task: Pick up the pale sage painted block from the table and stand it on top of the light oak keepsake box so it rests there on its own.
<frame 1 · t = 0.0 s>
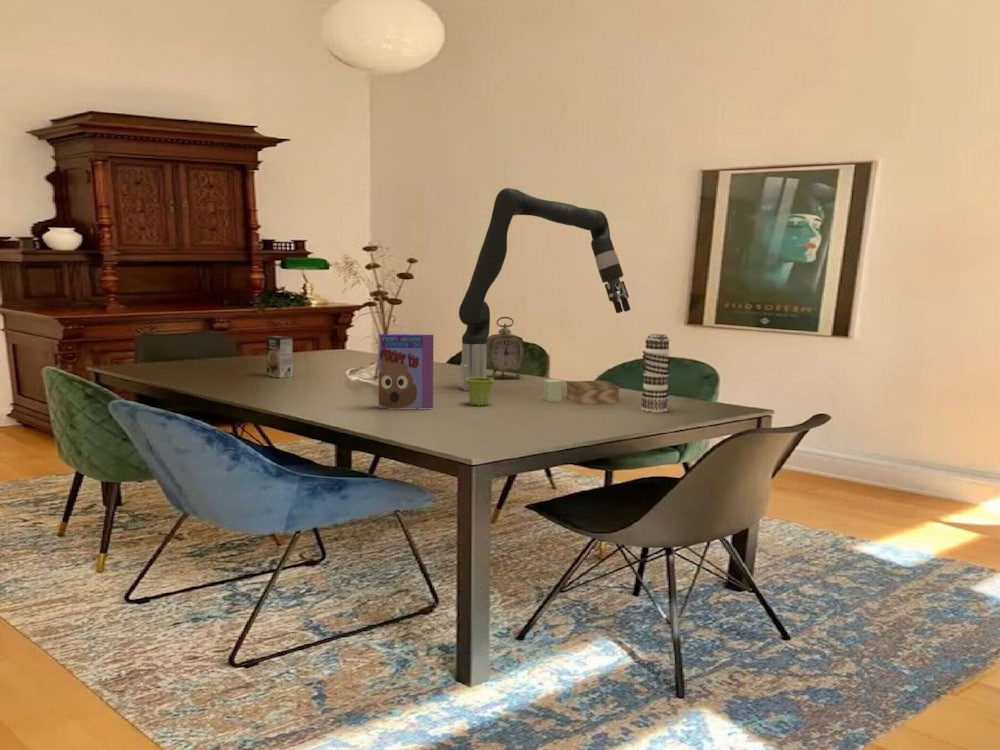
hand: (623, 311, 289), 31 cm above the table, tool tilted 20°, fingers open, 8 cm apart
sage block: (552, 400, 298), on the table
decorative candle: (654, 410, 283), on the table
tabletop clock: (503, 378, 347), on the table
plant pot: (479, 405, 287), on the table
oak box: (592, 401, 299), on the table
coffee box: (279, 377, 341), on the table
cereal box: (406, 408, 279), on the table
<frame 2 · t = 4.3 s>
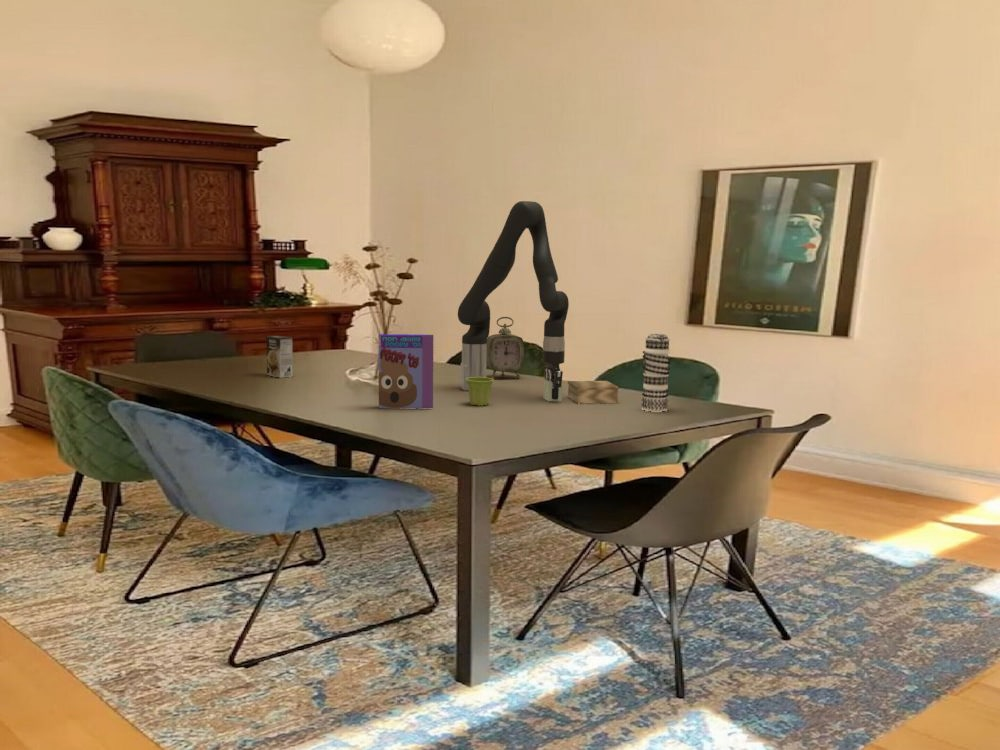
hand: (552, 397, 298), 1 cm above the table, tool pointing down, fingers closed on sage block, 5 cm apart
sage block: (552, 400, 298), on the table, touching gripper
everything else where it was.
when the fingers open (8 cm above the table, at t = 9.4 s): sage block drops 1 cm, resting on oak box.
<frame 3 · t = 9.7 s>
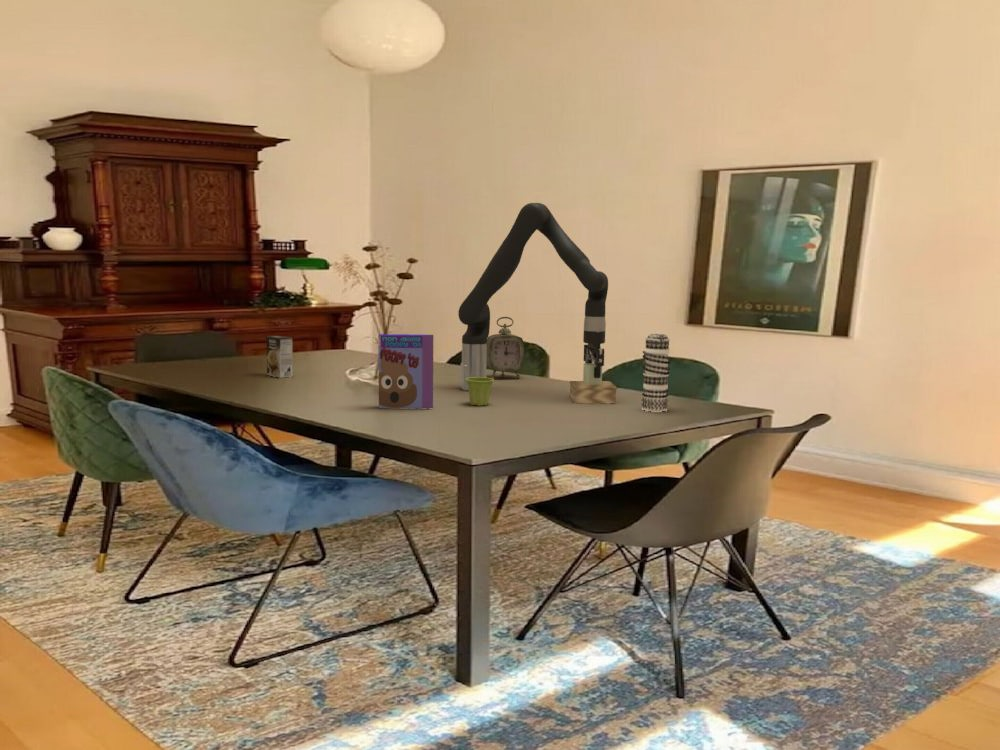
hand: (593, 376, 298), 8 cm above the table, tool pointing down, fingers open, 7 cm apart
sage block: (592, 384, 299), point 6 cm above the table, touching oak box
oak box: (592, 401, 299), on the table, touching sage block
everything else where it was.
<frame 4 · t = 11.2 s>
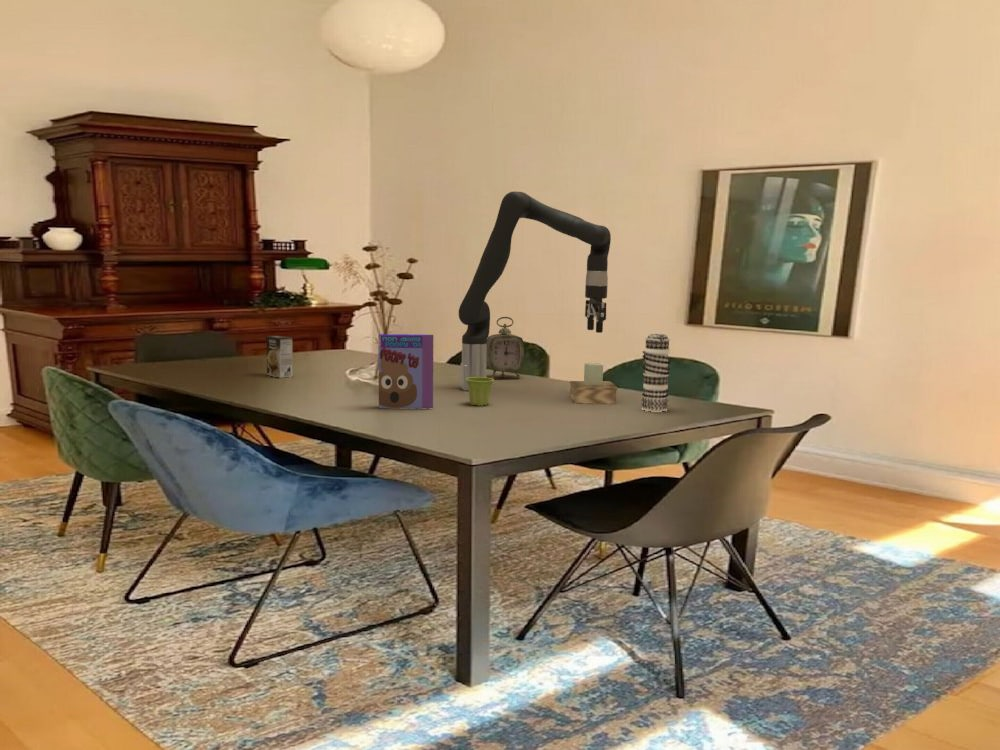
hand: (594, 331, 296), 24 cm above the table, tool pointing down, fingers open, 8 cm apart
nothing on the table moved.
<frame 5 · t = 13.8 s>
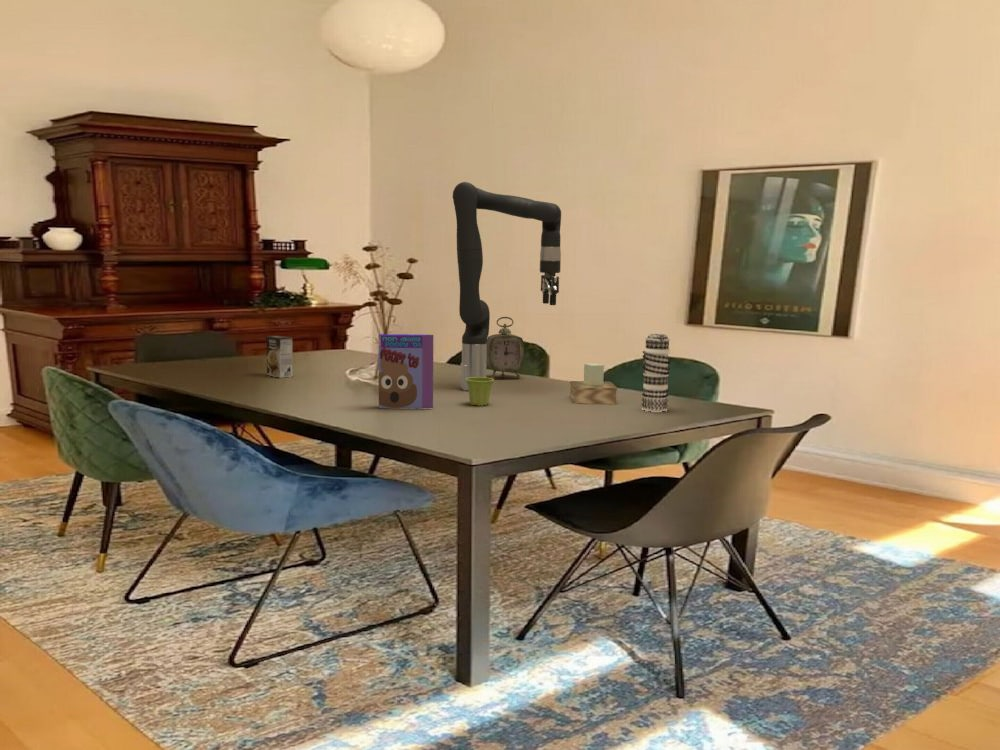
hand: (549, 304, 312), 32 cm above the table, tool pointing down, fingers open, 8 cm apart
nothing on the table moved.
at the end: sage block inside the target area on the oak box (0.2 cm from its centre), point 6.0 cm above the oak box's base; sage block tilted 0°; the gripper is holding nothing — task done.
